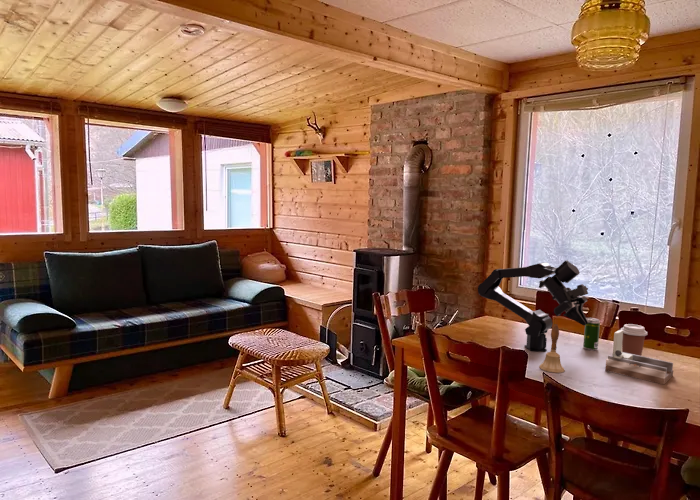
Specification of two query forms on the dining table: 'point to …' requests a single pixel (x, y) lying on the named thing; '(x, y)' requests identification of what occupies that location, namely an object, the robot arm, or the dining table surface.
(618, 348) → the carriage
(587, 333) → the beer can
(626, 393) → the dining table surface
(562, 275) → the robot arm
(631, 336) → the coffee cup
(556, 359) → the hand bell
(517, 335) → the dining table surface
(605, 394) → the dining table surface
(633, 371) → the stand
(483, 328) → the dining table surface
